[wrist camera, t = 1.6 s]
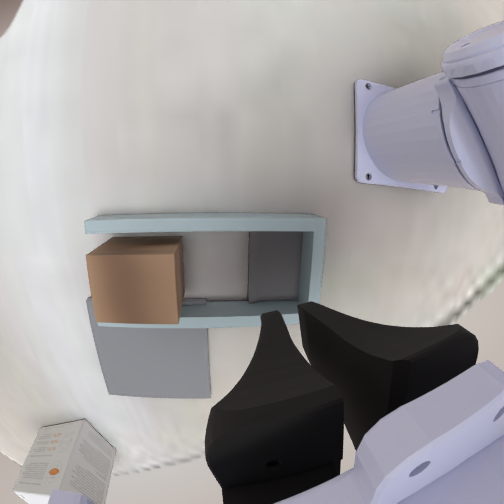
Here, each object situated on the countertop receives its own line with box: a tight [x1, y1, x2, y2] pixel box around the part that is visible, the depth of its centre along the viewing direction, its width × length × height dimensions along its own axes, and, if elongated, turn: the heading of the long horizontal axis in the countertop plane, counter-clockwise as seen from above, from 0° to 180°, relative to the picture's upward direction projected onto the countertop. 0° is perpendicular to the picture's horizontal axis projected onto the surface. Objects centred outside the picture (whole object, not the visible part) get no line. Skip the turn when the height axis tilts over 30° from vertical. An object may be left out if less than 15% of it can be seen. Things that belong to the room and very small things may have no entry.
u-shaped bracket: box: [84, 213, 327, 328], centre depth 19 cm, size 15×7×2 cm, turn 89°
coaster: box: [86, 297, 211, 398], centre depth 21 cm, size 9×9×1 cm
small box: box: [13, 419, 116, 504], centre depth 18 cm, size 8×6×10 cm
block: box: [86, 236, 185, 324], centre depth 17 cm, size 5×4×5 cm
